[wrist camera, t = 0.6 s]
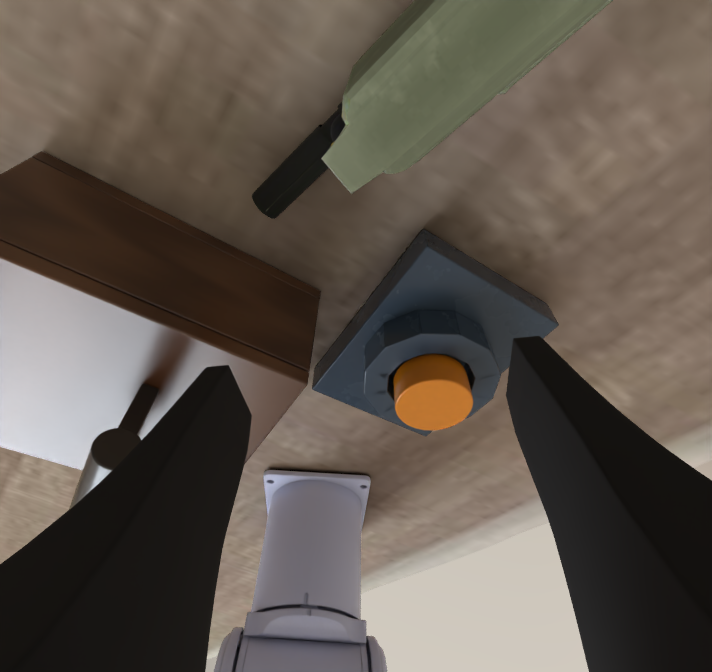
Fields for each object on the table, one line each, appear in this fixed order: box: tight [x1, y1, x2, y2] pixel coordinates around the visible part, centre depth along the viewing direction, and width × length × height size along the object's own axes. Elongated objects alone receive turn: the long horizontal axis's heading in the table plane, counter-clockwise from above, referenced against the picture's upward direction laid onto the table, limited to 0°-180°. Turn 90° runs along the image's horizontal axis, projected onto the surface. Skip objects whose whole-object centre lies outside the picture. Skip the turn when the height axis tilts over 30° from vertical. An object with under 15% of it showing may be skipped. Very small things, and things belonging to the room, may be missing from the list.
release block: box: [312, 229, 559, 436], centre depth 22 cm, size 10×8×4 cm
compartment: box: [0, 151, 321, 372], centre depth 20 cm, size 13×11×6 cm
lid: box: [0, 241, 309, 510], centre depth 16 cm, size 14×11×4 cm
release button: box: [393, 354, 473, 430], centre depth 20 cm, size 4×4×2 cm
